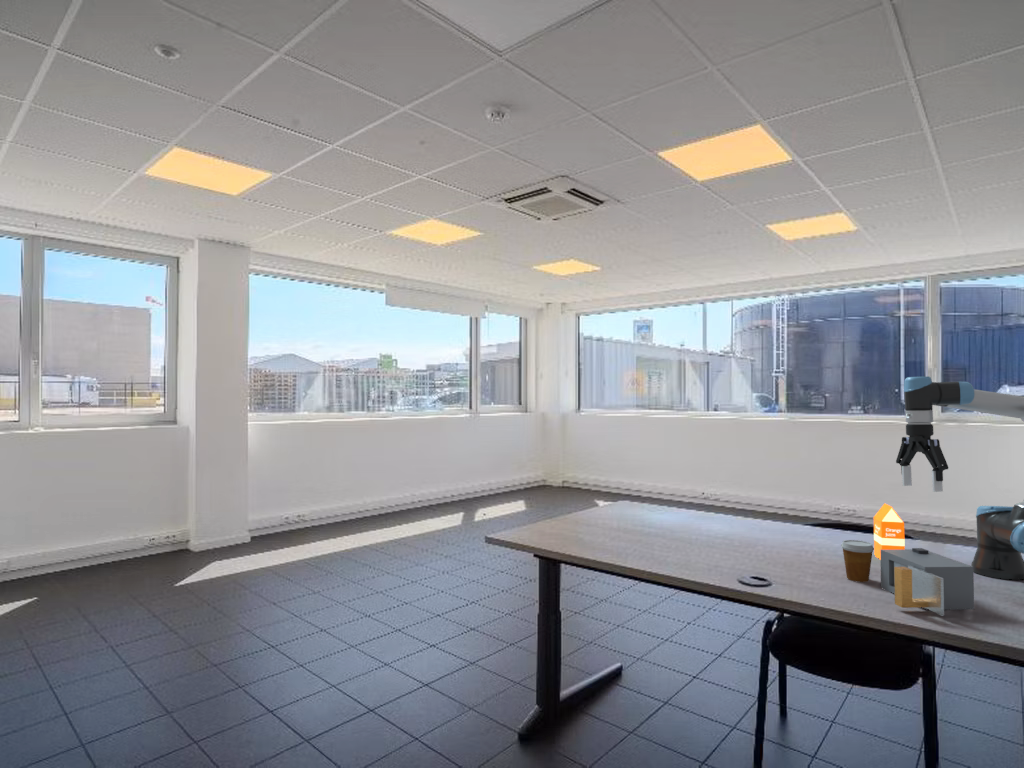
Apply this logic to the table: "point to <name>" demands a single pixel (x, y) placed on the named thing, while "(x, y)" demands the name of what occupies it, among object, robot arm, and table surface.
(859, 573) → the disposable coffee cup
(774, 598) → the table surface
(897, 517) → the orange juice
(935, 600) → the side cover
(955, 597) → the open-sided grey enclosure
